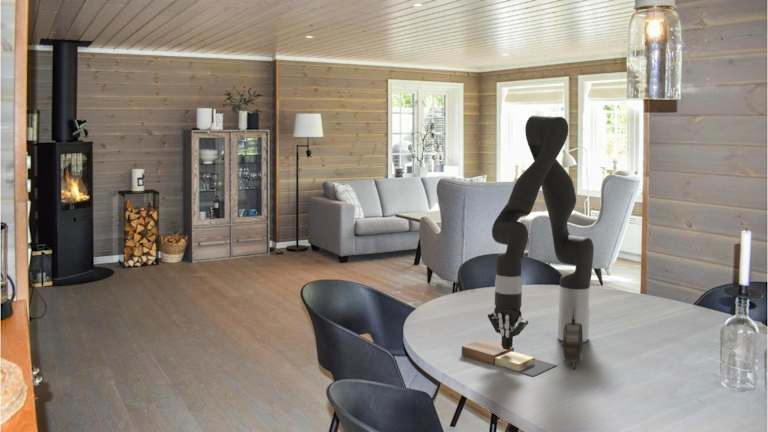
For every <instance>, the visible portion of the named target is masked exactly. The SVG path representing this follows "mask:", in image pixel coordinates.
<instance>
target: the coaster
mask: <svg viewBox="0 0 768 432" xmlns="http://www.w3.org/2000/svg"><path fill="white" fill-rule="evenodd" d="M535 359H536V358H535V357H534V356H531V355H527V354H523V353H520V352H516V351H514V352H513V351H510V352H507V353H505V354H503V355H500V356H498V357H495V365H494V366H496V365H499V366H502V367H506V368H509V369H513V370H516V371H521V370H523V369H525V368H527V367H529V366H531V365H534V364H535ZM499 366H498V367H499ZM502 367H501V368H502ZM506 368H505V369H506ZM509 369H508V370H509ZM516 371H515V372H516Z"/></svg>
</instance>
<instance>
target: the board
mask: <svg viewBox="0 0 768 432" xmlns="http://www.w3.org/2000/svg"><path fill="white" fill-rule="evenodd" d="M510 351H513V352H515V347H513V346H512V347H511V349H509V350H506V349H503V347H502V343H500V342H495V341H492V340H488V339H485V338H481V339H478V340H475V341H473V342H469V343H466V344H463V345H461V356H462V357H463V358H467V359H470V360H473V361H476V362H477V361H478V362H480V363H484V364H487V365H490V366H495V365H494V364H495V357H498V356H500V355H503V354H505V353H507V352H510Z"/></svg>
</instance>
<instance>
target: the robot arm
mask: <svg viewBox="0 0 768 432" xmlns="http://www.w3.org/2000/svg"><path fill="white" fill-rule="evenodd" d="M524 129H525V130H524V131H525V138H526V142H527V145H528V148H529V151H530V153H531V155H532V158H533V162H532V163H531V164H530V166H528V168H527V169H526V170H524V172H522V174H521V175H520V176H519V177H518V179H516V181H515V184H514V185H513V188H512V189H511V190H512V191H511V193H510V196H509V198H508V201H507V203H506V204H505V206H504V207H503V209H502V210H501V211H500V213H499V214H498V216H497V217H496V219H495V220H494V222H493V224H492V229H491V235H492V239H493V240H494V241H495V242H496V243H498V244H501V245H504V246H505V245H506V246H507V247H506V250H505V252H502V253H500V254H498V255H497V256H496V267H495V268H496V269H495V270H496V271H495V273H496V274H495V280H494V305H495V306H494V310H493V311H492V312H491V313H489V314H487V318H488V320H489V322H490V324H491V326H492V327H493V329H494V331H495V332H496V333H497V334H498V333H499V334H500V336H501V344H502V347H503V349H506V350H509V349H511V347H513V341H514V340H513V339H514V338H513V337H516V336H519V335H520V334H521V333H522V331H523V330H524V329H525V328H526V326H527V325H528V324H529V321H528V319H524V318H523V317H522V311H521V307H522V294H523V293H522V291H523V281H522V265H523V264H522V262H523V258H524V254H525V251H526V248H527V244H528V240H529V231H528V229H527V226H526V224H524V223H523V222H521V221H519V219H520V218H523V217H527V216H529V215H530V214H531V213H532V211H533V207H534V205H535V203H536V200H537V197H538V195H539V192H540V190H541V191H542V195H543V199H544V202H545V203H544V204H545V206H546V209H547V213H548V219H549V222H550V227H551V233H552V234H551V235H552V241H553V243H552V244H553V247H554V253H555V256H556V259H557V260H558V262H559V263H562V264H564V265H572V266H575V269H574V272H572V273H568V274H564V275H561V276H560V277H559V289H558V290H559V292H558V319H557V321H558V322H557V339H558V340H560V341H562V342H563V334H564V327H565V325H566V324H567V323H572V319H573V309H574V319H575V323H581V324H582V335H583V336H582V337H583V343H585V342H587V341H588V339H589V331H590V330H589V328H590V289H591V288H590V285H591V279H592V274H593V261H594V253H595V252H594V251H595V250H594V249H595V248H594V243H593V239H591V238H590V237H587V236H580V235H571V234H570V232H569V229H568V222H569V219H570V217H571V215H572V213H573V211H574V210H575V208H576V204H577V196H576V195H577V194H576V191H575V186H574V182H573V179H572V178H571V176H570V175H569V173H568V172H567V171H566V169H565V168H564V167H563V165H562V164H561V163H560V162H559V161H558V160H557V159H558V156H559V154H560V153H561V151H562V149H563V148H564V146H565V144H566V141H567V138H568V136H569V129H570V128H569V123H568V121H567V120H566V118H564V117H563V116H560V115H551V114H533V115H531V116H530V117H529V118H528V119H527V120H526V123H525V127H524Z"/></svg>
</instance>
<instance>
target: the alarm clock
mask: <svg viewBox="0 0 768 432" xmlns="http://www.w3.org/2000/svg"><path fill="white" fill-rule="evenodd" d="M582 336H583V335H582V324H581V323H575V319H574V309H573V319H572V323H567V324H566V325H565V327H564V334H563V341H562V344H561V347H562V350H563V357H564V361H563V363H565V362H568V363H569V362H570V363H572V366H573V368H572V370H576V364H577V363H582V361H583V350H584V349H583V345H584V342H583V337H582Z"/></svg>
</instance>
